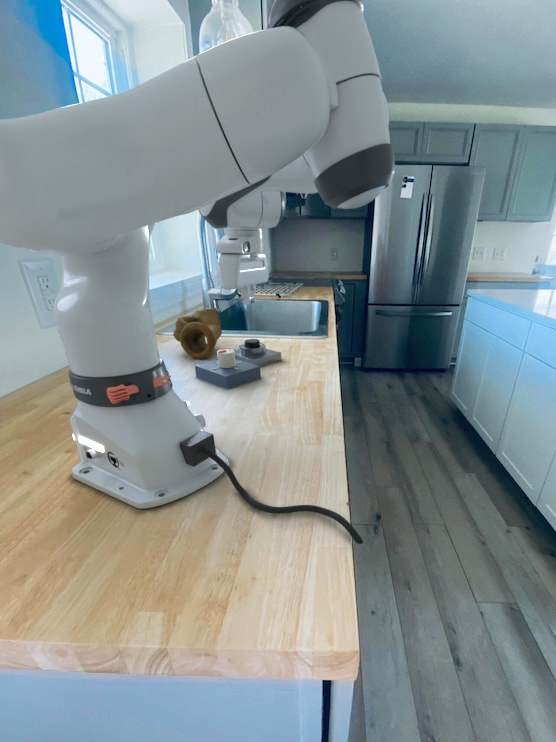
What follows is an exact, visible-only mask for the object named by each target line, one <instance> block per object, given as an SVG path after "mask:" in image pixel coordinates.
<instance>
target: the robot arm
mask: <svg viewBox="0 0 556 742" xmlns="http://www.w3.org/2000/svg"><path fill="white" fill-rule="evenodd" d="M364 7H365V6H364V3H363V0H274V1H273V5H272V7H271V10H270V13H269V17H268V25H267V27H266V28H265V29H261V30H257V31H254V32H250V33H247V34H243V35H241V36H237V37H235V38H234V37H233V38H231V39H229V40H227V41H224V42H221V43H219V44H216V45H214V46H212V47H211V48H208V49H206V50H204V51H202V52H200V53H198V54H196V55H194V56H193V57H191V58H189V59H187V60H185V61H183V62H181V63H179V64H178V65H176V66H173V67H172V68H170V69H168V70H166V71H163V72H162V73H160V74H158V75H156V76H154V77H153V78H150V79H149V80H146V81H145V82H143V83H141V84H138V85H137V86H134V87H132V88H129V89H127V90H124V91H121V92H119V93H115V94H112V95H109V96H105V97H100V98H97V99H92V100H87V101H83V102H79V103H74V104H70V105H66V106H65V105H64V106H62V107H58V108H53V109H50V110H47V111H43V112H39V113H35V114H30V115H25V116H21V117H14V118H13V117H12V118H3V119H2V118H1V119H0V243H1V244H4V245H7V246H10V247H14V248H16V249H21V250H24V251H28V252H33V253H37V254H41V255H46V256H53V257H54V256H55V257H56V256H58V257H59V256H61V282H60V287H59V291H58V292H57V295H56V297H55V299H54V301H53V305H52V317H53V320H54V323H55V325H56V329H57V333H58V335H59V338H60V341H61V344H62V348H63V351H64V354H65V356H66V359H67V363H68V366H69V370H68V371H67V375H68V378H69V386H70V388H71V389H72V392H73V395H74V397H75V398H76V400H77V405H76V407H75V410H74V411H73V413H72V415H71V417H70V418H69V422H70V426H71V429H72V430H71V431H72V434H71V435H72V438H73V441H74V442H75V444H76V447H77V452H78V456H79V458H80V461H79V462H78V463H77V464H76V465H75V466H74V467H72V468H71V474H72V478H73V479H74V480H76V481H79V482H81V483H82V484H85V485H87V486H89V487H91V488H93V489H96V490H97V491H100V492H102V493H104V494H106V495H108V496H111V497H113V498H114V499H117V500H118V501H121V502H123V503H125V504H127V505H130V506H132V507H134V508H136V509H139V510H145V509H150V508H155V507H159V506H162V505H165V504H166V505H167V504H168V503H172V502H175V501H177V500H180V499H181V498H184V497H186V496H188V495H190V494H192V493H194V492H196V491H198V490H200V489H202V488H204V487H205V486H207V485H209V484H210V483H212V482H213V481H215V480H216V479H217V478H220V476H221V475H223V474H224V472H225V473H226V476H227V477H228V479H229V480H230V482H231V484H232V486H233V487H234V489H235V490H236V491H237V492H238V493H239V495H240V496H241V498H243V499H244V500H245V501H246V503H247V504H249V505H250V506H252V507H253V508H254V509H257V510H260V511H263V512H266V513H269V514H292V513H299V512H300V513H301V512H311V513H316V514H320V515H322V516H326V517H328V518H330V519H333V520H334V521H336V522H337V523H338V524H339V525H341V526H342V527H343V528H344V529H345V530H346V531H347V533H348V534H349V535H350V537H351V538H352V539H353V540H354V542H355V543H356V544H358V545H362V544H364V540H363V538H362V537H361V535H360V534H359V532H358V531H357V530H356V528H354V526H353V525H352V524H351V523H350V522H349V520H347V519H346V518H345V517H344V516H342V515H341V514H339V512H335V511H333V510H330V509H329V508H325V507H322V506H317V505H312V504H297V505H287V506H272V505H268V504H264V503H262V502H259V501H258V500H256V499H254V497H252V496H251V495H250V494H249V493H248V492H247V491H246V489H244V487H243V486H242V485H241V484H240V482H239V480H238V479H237V477H236V475H235V473H234V471H233V470H232V469H231V466H230V461H229V458H227V457H226V455H224V454H223V453H222V452H221V451H220V450H219V449H218V448H217V447H216V442H215V436H214V433H211V432H208V431H206V430H205V427H206V419H205V416H204V415H203V414H202V413H200V412H199V413H195V414H193V413H192V411H191V410H190V408H189V406H190V401H189V400H184V399H183V400H182V399H181V398H180V397H179V395H178V394H177V393H176V392H175V390H174V389H173V386H174V385H173V381H172V379H171V378H172V376H171V374H170V371H169V369H168V368H167V366H166V364H165V361H164V360H163V359H162V358H161V357H160V351H159V346H158V341H157V340H158V339H157V336H156V330H155V325H154V320H153V315H152V307H151V298H150V253H151V252H150V249H151V248H150V247H151V245H150V243H151V236H152V233H153V231H154V228H155V224H156V223H160V222H163V221H166V220H169V219H172V218H175V217H179V216H182V215H187V214H191V213H193V212H195V211H197V210H198V213H199V215H200V216H201V217H202V218H203V219H204V220H205V222H206V223H208V224H209V225H210V226H211V227H212V228H214V229H215V230H217V229H224V235H223V237H222V238H221V239H220V240H218V241H217V242H216V244H215V249H216V253H217V254H219V256H218V267H219V268H218V269H219V275H220V281H221V284H222V286H223V288H224V289H227V290H239V292H240V294H241V296H242V298H243V301H242V302H243V305H244V306H250V305H253V304H255V301H256V300H255V296H256V291H257V285H260V284H264V283H267V282H269V277H270V274H269V263H268V258H267V255H266V253H265V252H264V238H263V237H264V236H263V235H264V234H263V229H273V228H276V227H277V226H279V225H280V224H281V222H282V221H283V219H284V216H285V215H286V214H285V213H286V197H285V193H293V194H307V195H310V194H313V195H314V194H317V193H318V194H319V196H320V198H321V200H322V201H323V202H324V204H325V205H326V206H329V207H330V208H332V209H335V210H339V209H343V210H351V209H358V208H361V207H364V206H366V205H368V204H369V203H371V202H373V201H374V200H375V199H376V198H378V197H379V196H380V194H381V193H382V192H383V191H384V190H385V189H387V188H388V186H390V183H391V181H392V179H393V176H394V174H395V171H396V170H395V167H396V166H395V165H396V164H395V148H394V147H395V146H394V144H393V143H391V137H390V128H389V125H390V110H389V104H388V101H387V97H386V95H385V93H384V90H383V86H382V81H383V78H382V74H381V69H380V65H379V61H378V58H377V55H376V51H375V47H374V43H373V40H372V37H371V35H370V31H369V29H368V25H367V22H366V19H365V16H364V10H365V9H364Z"/></svg>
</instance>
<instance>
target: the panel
mask: <svg viewBox="0 0 556 742" xmlns="http://www.w3.org/2000/svg"><path fill="white" fill-rule="evenodd" d="M235 361H236V366H235V367H232V368H221V367H219V364H218V359H215V360H211V361H206V362H203V363H200V364H196V365H194V369H195V370H194V371H195V375H196V378H197V379H200V380H202V381H205V382H208V383H211V384H212V385H216V386H218V387H220V388H223V389H226V390H229V389H232V388H236V387H238V386H242V385H244V384H248V383H251V382H253V381H256V380H259V379H262V373H261V366H257V365H254V364H251V363H247V362H244V361H241V360H237V359H235Z"/></svg>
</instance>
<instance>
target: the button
mask: <svg viewBox="0 0 556 742" xmlns="http://www.w3.org/2000/svg"><path fill="white" fill-rule="evenodd" d="M260 343H261V341H260V339H257V338H249V339H248V338H247V339H245V340H244V344H245V347H247V348H257V347H260Z"/></svg>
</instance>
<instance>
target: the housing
mask: <svg viewBox="0 0 556 742" xmlns="http://www.w3.org/2000/svg"><path fill="white" fill-rule="evenodd" d="M233 350H234V351H235V359H237V360H241V361H244V362H247V363H251V364H254V365H257V366H260V367H263V366H267V365H270V364H273V363H276V362H279V361H282V352H281V351H276V350H273V349H269V348H267V346H266V344H265V343H262V342H260V347H257V348H247V347H245V343H241V344H240V345H239V347H238V348H235V349H233Z"/></svg>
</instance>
